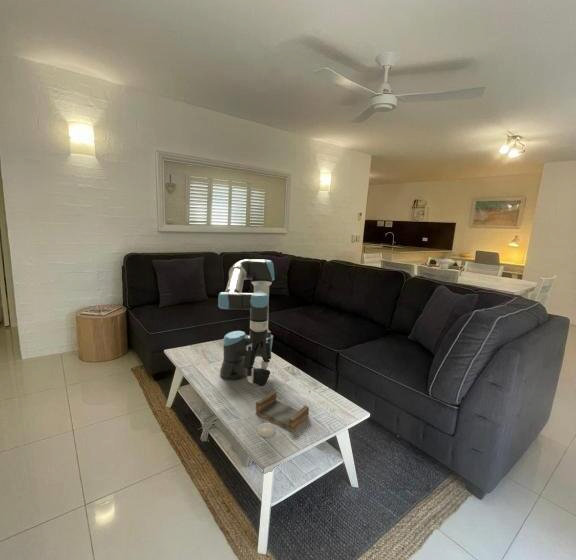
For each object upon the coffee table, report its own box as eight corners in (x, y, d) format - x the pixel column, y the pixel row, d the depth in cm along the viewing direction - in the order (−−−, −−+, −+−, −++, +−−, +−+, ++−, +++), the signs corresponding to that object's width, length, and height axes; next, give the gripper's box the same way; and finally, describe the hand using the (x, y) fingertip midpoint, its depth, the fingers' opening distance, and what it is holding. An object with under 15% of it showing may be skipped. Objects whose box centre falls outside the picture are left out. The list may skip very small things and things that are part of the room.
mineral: (244, 385, 129) (244, 372, 128) (248, 375, 138) (249, 363, 137) (268, 388, 129) (268, 375, 128) (271, 377, 138) (271, 365, 137)
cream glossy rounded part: (252, 432, 125) (252, 430, 125) (264, 422, 132) (264, 420, 131) (268, 440, 121) (268, 439, 120) (279, 429, 127) (280, 428, 127)
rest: (255, 412, 137) (256, 402, 136) (272, 400, 147) (273, 390, 146) (292, 432, 126) (293, 420, 125) (308, 417, 135) (308, 407, 134)
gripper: (247, 337, 121) (246, 390, 125) (280, 325, 137) (278, 373, 141) (234, 332, 126) (233, 384, 130) (268, 322, 142) (266, 368, 146)
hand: (257, 378), depth 135 cm, fingers closed on mineral, 8 cm apart
